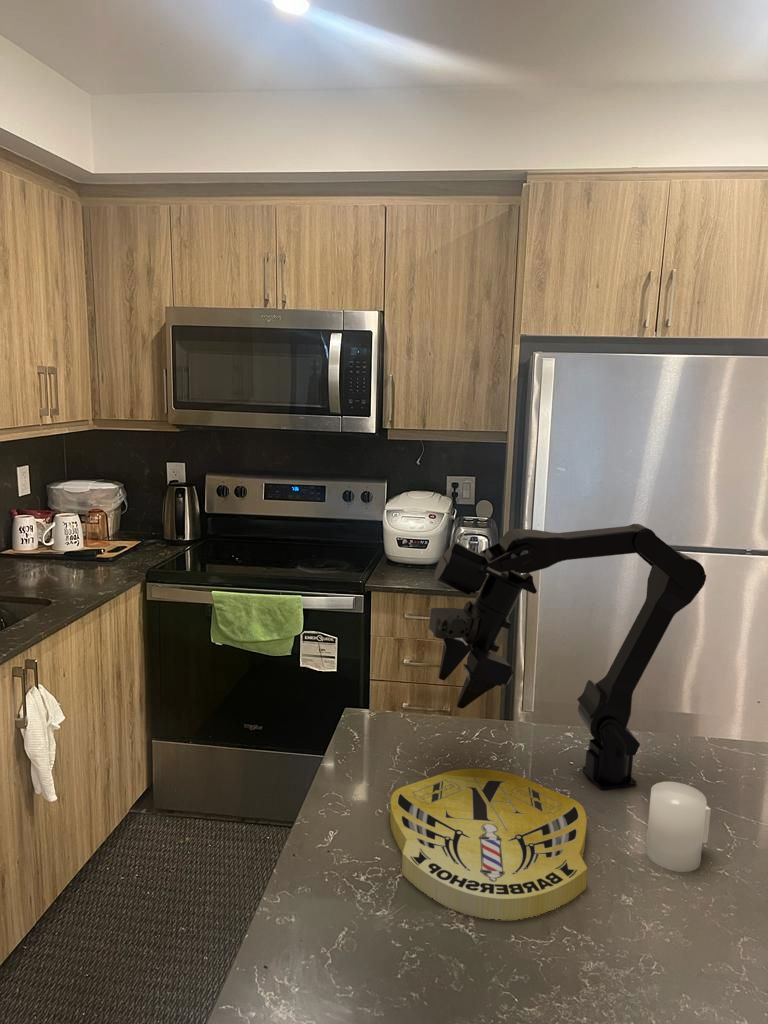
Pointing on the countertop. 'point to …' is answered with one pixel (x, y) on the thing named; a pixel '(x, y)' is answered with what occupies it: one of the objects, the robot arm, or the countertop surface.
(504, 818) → the sign
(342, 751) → the countertop surface
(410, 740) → the countertop surface
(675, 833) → the night light
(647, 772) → the countertop surface
